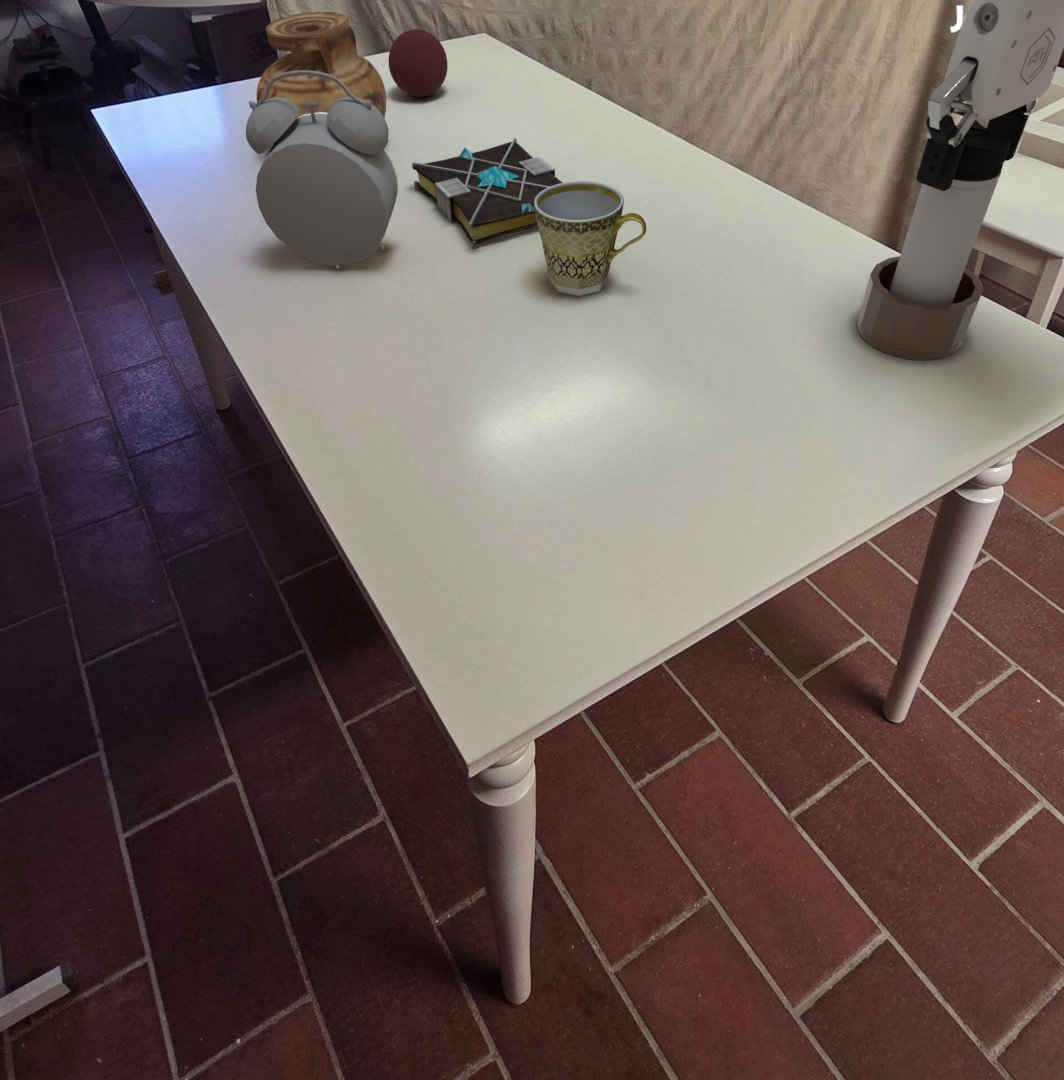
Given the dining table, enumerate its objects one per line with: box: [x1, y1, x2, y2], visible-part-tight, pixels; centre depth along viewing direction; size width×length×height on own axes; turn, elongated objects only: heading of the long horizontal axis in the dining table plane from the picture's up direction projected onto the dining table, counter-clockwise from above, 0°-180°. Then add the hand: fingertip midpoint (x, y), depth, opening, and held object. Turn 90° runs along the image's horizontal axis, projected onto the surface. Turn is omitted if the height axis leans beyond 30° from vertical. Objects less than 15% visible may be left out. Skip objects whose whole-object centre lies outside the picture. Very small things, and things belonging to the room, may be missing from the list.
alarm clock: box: [245, 70, 399, 270], centre depth 97 cm, size 16×9×22 cm, turn 85°
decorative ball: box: [388, 28, 449, 98], centre depth 140 cm, size 10×10×10 cm
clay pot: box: [256, 11, 387, 120], centre depth 123 cm, size 19×19×20 cm
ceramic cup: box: [534, 180, 647, 297], centre depth 95 cm, size 13×10×10 cm
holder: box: [856, 255, 985, 361], centre depth 87 cm, size 11×11×6 cm
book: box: [411, 137, 564, 249], centre depth 112 cm, size 22×17×5 cm
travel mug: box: [889, 124, 1011, 305], centre depth 81 cm, size 6×7×20 cm
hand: (964, 170), depth 77 cm, fingers open, 9 cm apart
